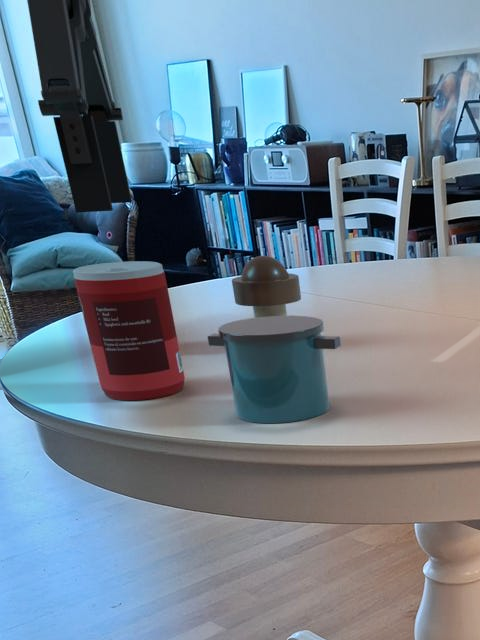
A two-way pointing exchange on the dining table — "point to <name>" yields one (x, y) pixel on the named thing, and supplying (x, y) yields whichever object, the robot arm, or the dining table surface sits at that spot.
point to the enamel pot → (276, 367)
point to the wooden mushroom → (266, 287)
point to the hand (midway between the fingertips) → (106, 207)
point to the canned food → (130, 329)
